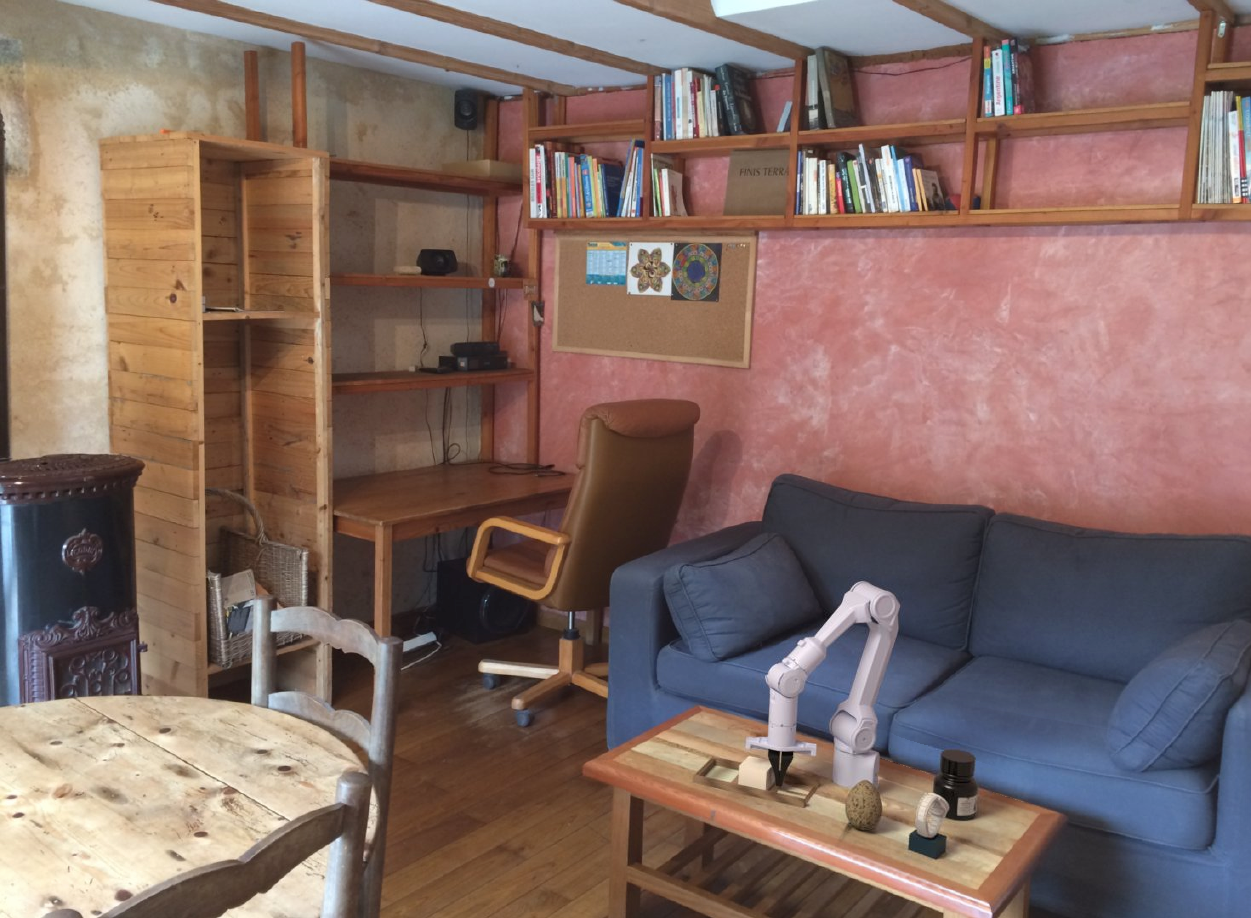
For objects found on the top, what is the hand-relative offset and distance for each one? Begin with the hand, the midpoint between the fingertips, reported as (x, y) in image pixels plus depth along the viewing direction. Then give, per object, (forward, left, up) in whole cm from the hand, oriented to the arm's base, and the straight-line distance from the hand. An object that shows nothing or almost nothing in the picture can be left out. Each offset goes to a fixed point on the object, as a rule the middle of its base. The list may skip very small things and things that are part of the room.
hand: (778, 784), depth 230 cm
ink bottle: (-34, -11, -3) cm, 36 cm away
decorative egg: (-19, +6, -3) cm, 20 cm away
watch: (-32, +9, -3) cm, 33 cm away
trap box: (+5, 0, -3) cm, 6 cm away
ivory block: (+5, 0, -1) cm, 5 cm away
